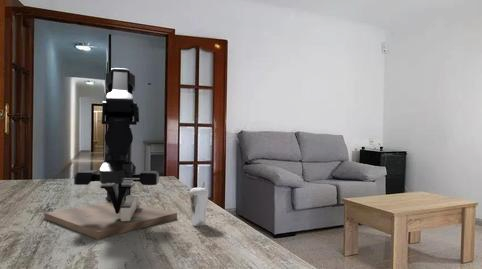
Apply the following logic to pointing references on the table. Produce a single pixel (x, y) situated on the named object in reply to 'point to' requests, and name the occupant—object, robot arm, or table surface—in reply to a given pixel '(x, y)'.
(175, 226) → the table surface
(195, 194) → the milkshake
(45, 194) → the table surface
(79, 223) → the plate
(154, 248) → the table surface
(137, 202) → the peg lever
